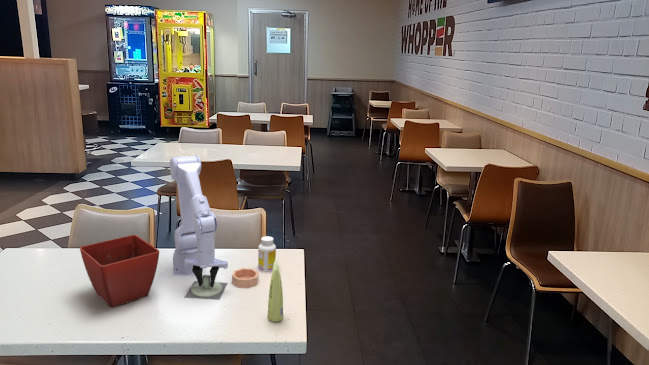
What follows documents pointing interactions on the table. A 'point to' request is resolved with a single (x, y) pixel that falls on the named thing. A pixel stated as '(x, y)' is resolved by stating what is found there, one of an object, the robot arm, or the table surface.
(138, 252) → the plant pot
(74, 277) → the table surface
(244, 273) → the bowl
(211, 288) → the lid
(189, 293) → the mat
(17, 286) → the table surface
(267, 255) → the supplement bottle
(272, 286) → the tube
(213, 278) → the robot arm
